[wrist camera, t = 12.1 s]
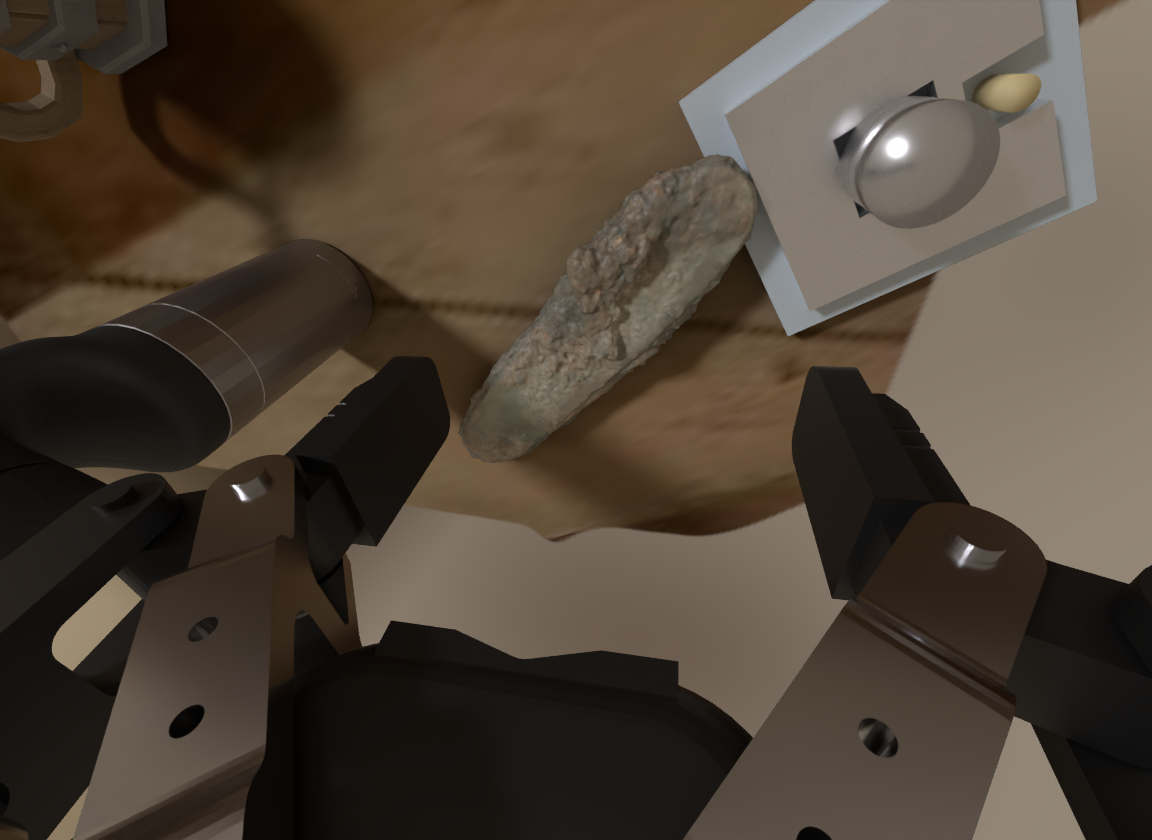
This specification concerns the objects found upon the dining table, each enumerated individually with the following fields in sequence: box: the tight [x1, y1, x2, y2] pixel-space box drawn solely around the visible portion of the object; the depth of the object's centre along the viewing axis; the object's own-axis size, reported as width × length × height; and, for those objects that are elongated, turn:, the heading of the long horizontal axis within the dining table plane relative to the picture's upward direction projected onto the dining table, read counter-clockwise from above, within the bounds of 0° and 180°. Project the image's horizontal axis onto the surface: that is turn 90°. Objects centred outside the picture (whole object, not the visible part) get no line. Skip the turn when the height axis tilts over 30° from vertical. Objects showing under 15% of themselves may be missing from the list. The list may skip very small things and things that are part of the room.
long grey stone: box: [458, 154, 758, 463], centre depth 39 cm, size 35×5×10 cm
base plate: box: [679, 0, 1097, 336], centre depth 28 cm, size 18×18×4 cm
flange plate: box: [723, 0, 1066, 311], centre depth 26 cm, size 14×14×7 cm
